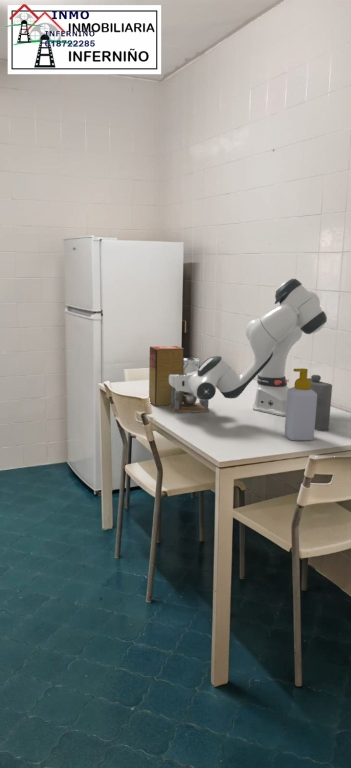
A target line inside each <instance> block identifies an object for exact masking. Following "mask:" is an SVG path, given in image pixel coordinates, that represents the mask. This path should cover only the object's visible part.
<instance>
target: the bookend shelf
mask: <svg viewBox="0 0 351 768" xmlns="http://www.w3.org/2000/svg"><path fill="white" fill-rule="evenodd" d="M198 400H199V402H195V404H193V405H186V404H184V403H179V391H176V390H175V388H174V387H172V389H171V405H169V406H170V408H171V409H172V411H173V412H174V413H208V412H209V409H210V408H209V400H200V399H198Z"/></svg>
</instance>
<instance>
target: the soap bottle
mask: <svg viewBox="0 0 351 768" xmlns="http://www.w3.org/2000/svg"><path fill="white" fill-rule="evenodd" d="M293 372H294V373H295V372H297V373H298V372H299V378H297V379H296V380H295V381H294V386H292V387H289V389H288V391H287V405H286V416H285V421H284V434H285V436H286V437H287V438H288V439H289V440H290V441H305V442H306V441H308V442H309V441H314V438H315V430H316V429H315V417H316V404H317V394H316V392H314V391H313V390H312V389H311V382H310V380H308V379H307V378H308V368H293Z"/></svg>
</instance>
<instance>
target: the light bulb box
mask: <svg viewBox="0 0 351 768" xmlns="http://www.w3.org/2000/svg"><path fill="white" fill-rule="evenodd" d="M194 359H195V366H196V367H197V369H199V367H200V366H201V365H200V363H201V361H200V358H194ZM186 362H187V357H186V358H185V357H184V365H183V370H184V368H185V366H186V365H187V363H186Z"/></svg>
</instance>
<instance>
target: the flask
mask: <svg viewBox="0 0 351 768" xmlns="http://www.w3.org/2000/svg"><path fill="white" fill-rule="evenodd" d="M321 377H322V376H321V375H319V374H312V375H311V376H310V377H307V379H308V380H310V382H311V389H312V390H313V391H314V392H316V394H317V404H316V417H315V430H316V429H317V430H316V431H320V430H322V432H326V431H329V429H330V428H329V427H330V416H331V405H332V392H333V384H332V383H329V382H323V381H322V380H321ZM324 430H325V431H324Z"/></svg>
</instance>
